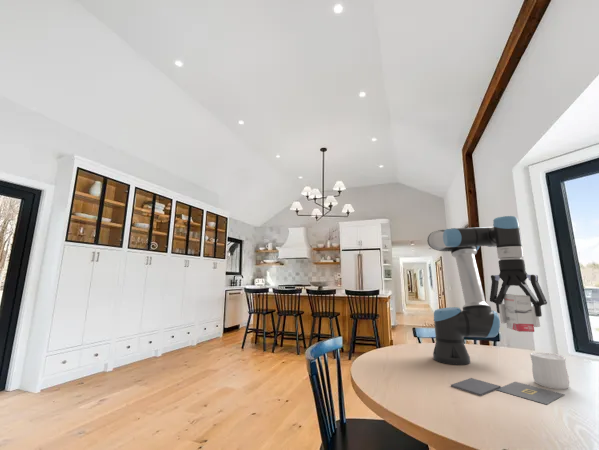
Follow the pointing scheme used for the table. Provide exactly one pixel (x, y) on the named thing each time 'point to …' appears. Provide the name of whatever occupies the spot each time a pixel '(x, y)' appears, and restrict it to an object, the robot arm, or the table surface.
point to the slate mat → (530, 392)
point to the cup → (550, 370)
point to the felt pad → (475, 386)
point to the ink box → (518, 312)
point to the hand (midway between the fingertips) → (519, 324)
